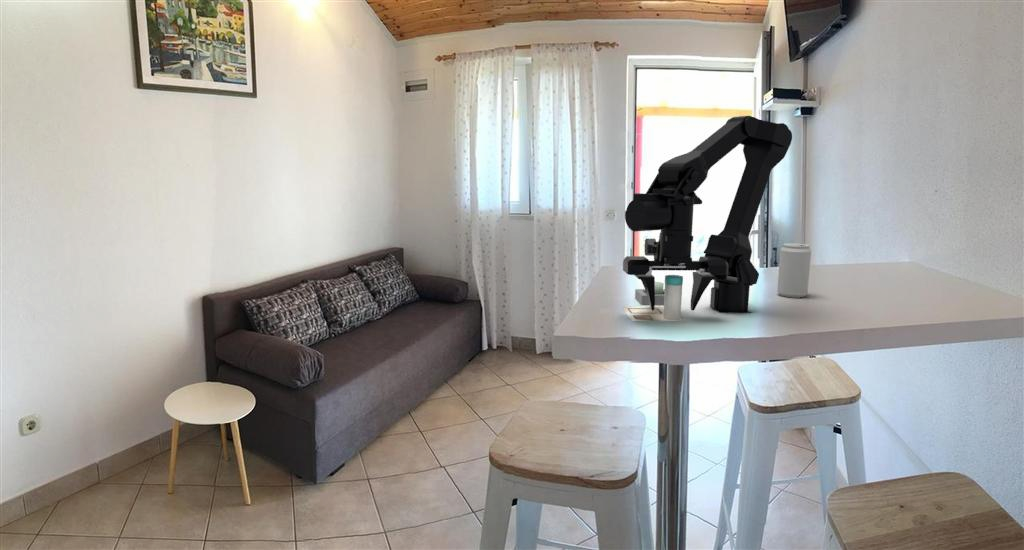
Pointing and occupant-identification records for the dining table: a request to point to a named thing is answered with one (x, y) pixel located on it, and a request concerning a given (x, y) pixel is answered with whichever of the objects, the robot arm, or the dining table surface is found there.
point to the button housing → (643, 300)
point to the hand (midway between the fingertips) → (672, 309)
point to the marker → (673, 297)
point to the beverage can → (794, 270)
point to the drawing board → (646, 313)
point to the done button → (659, 288)
